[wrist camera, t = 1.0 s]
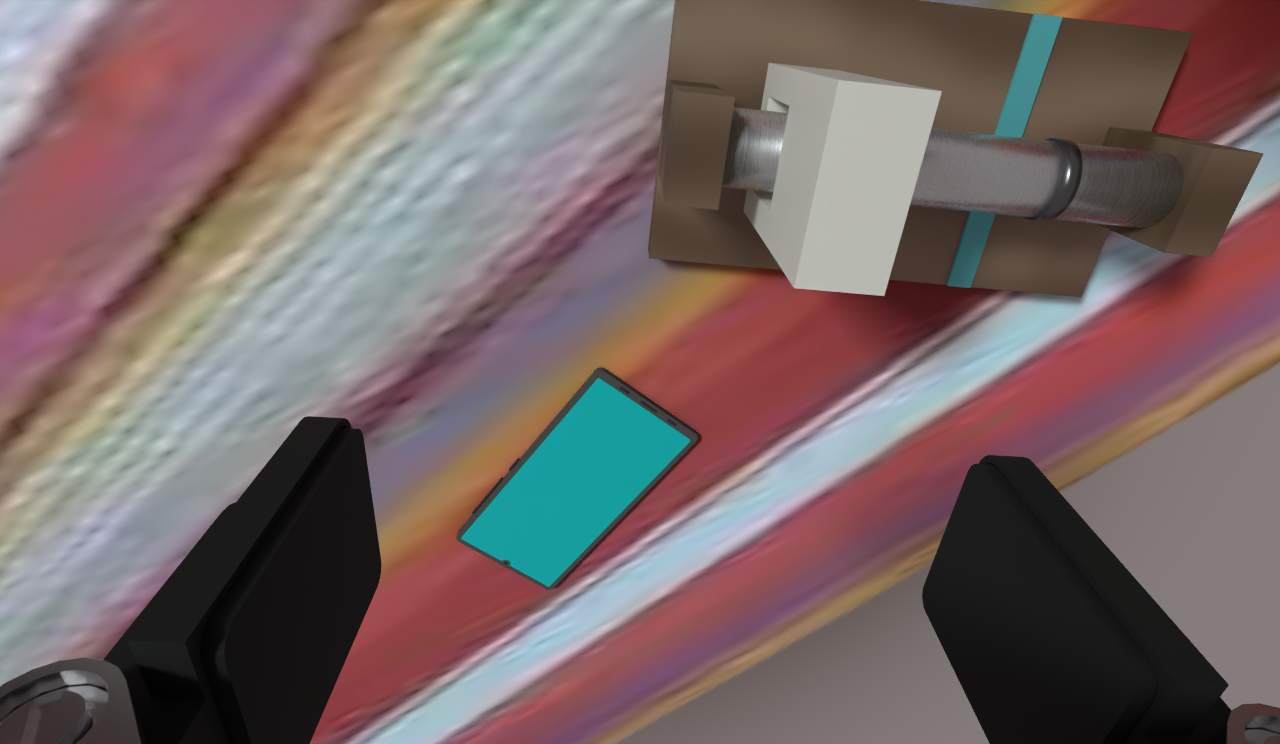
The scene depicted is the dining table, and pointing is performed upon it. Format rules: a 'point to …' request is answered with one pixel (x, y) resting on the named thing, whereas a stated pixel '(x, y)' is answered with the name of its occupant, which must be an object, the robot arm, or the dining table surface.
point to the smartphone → (577, 480)
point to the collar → (841, 175)
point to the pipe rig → (949, 137)
